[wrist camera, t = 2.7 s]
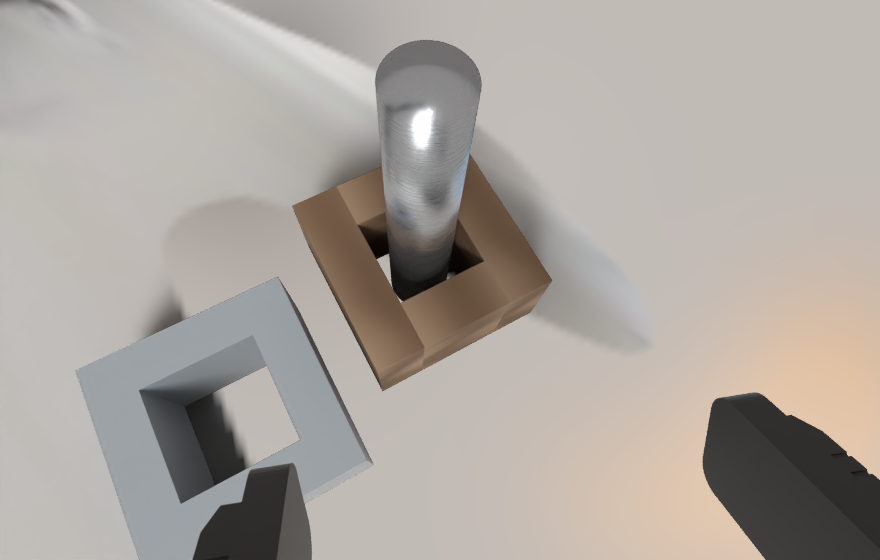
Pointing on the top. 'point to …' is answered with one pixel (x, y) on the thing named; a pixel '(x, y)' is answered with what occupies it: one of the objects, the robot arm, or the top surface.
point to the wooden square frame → (437, 309)
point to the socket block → (193, 377)
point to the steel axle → (424, 155)
